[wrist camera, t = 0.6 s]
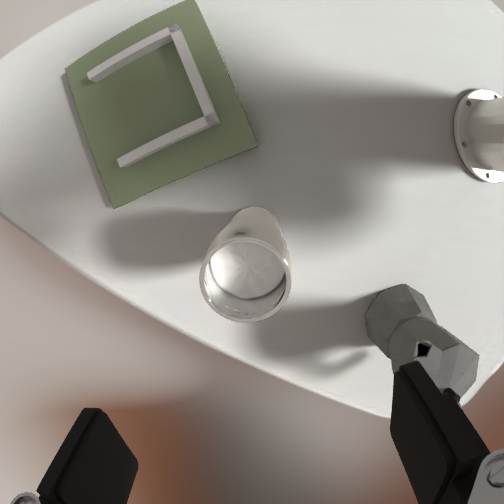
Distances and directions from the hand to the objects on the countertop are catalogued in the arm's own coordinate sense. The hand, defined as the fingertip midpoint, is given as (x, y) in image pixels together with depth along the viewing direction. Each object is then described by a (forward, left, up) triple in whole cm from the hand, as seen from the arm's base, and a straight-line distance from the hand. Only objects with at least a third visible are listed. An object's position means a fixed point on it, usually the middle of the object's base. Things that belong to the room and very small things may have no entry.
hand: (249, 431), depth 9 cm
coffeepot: (-13, +18, -30) cm, 37 cm away
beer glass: (+1, 0, -30) cm, 30 cm away
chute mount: (+6, -19, -29) cm, 35 cm away
